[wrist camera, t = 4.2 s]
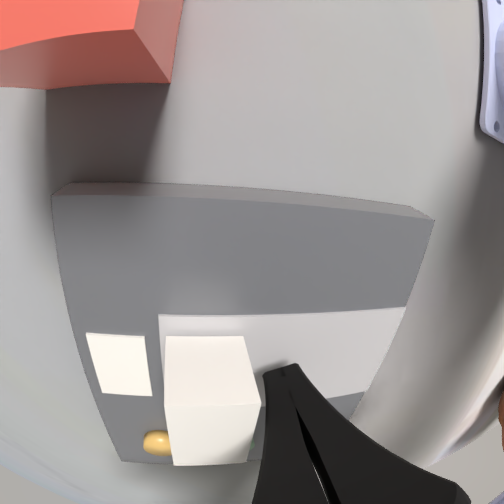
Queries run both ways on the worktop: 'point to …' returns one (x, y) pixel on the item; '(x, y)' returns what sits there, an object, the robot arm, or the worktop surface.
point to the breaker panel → (229, 290)
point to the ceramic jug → (501, 416)
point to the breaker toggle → (209, 399)
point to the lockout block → (87, 42)
